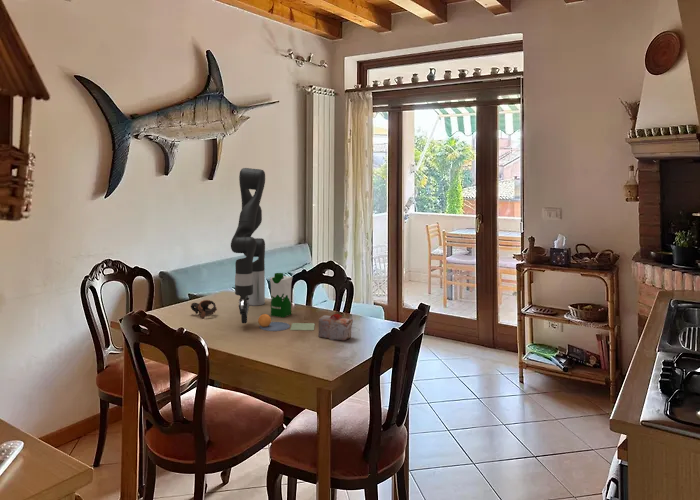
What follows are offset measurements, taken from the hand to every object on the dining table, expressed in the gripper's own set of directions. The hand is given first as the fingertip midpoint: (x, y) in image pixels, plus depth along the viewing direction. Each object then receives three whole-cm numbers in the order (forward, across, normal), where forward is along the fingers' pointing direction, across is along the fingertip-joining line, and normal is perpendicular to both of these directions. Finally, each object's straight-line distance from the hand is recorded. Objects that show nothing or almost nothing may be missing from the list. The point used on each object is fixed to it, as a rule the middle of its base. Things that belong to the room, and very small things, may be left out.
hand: (244, 322), depth 220 cm
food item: (+2, -15, -39) cm, 42 cm away
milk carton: (+2, +19, -14) cm, 24 cm away
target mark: (+2, 0, -13) cm, 13 cm away
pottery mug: (+2, +17, +21) cm, 27 cm away
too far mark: (+2, 0, -25) cm, 25 cm away
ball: (-1, 0, -9) cm, 9 cm away
